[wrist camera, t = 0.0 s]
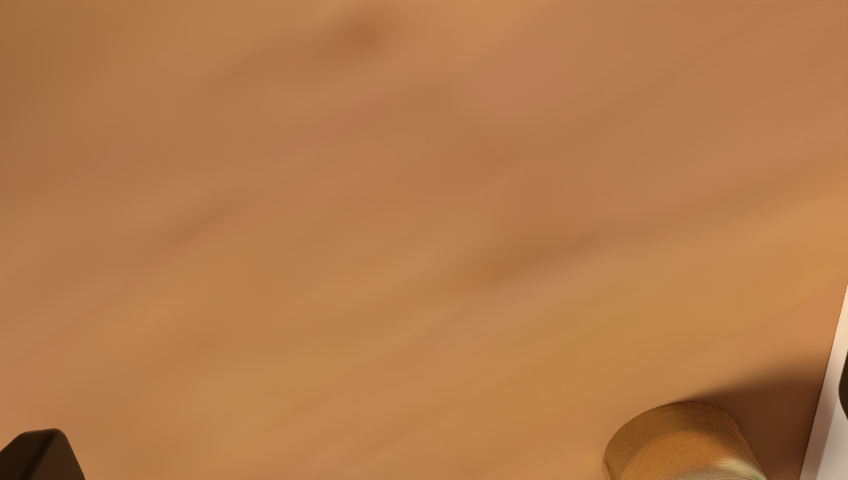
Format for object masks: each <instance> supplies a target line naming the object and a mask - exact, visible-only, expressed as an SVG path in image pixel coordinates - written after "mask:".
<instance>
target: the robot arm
mask: <svg viewBox="0 0 848 480" xmlns="http://www.w3.org/2000/svg"><path fill="white" fill-rule="evenodd" d="M838 394H839V400H840V404H841V406H842V409H843V411H844V413H845V416H846V418H847V420H848V351H847V355H846V359H845V362H844V366H843V370H842V374H841V378H840V381H839V387H838ZM0 480H85V477H84V474H83V472H82V470H81V468H80V465H79V463H78V461H77V459H76V457H75V454H74V452H73V450H72V448H71V446H70V443H69V441H68V439H67V437H66V435H65V434H64V433H63V432H62V431H61V430H59V429H55V428H52V429H44V430H36V431H28V432H24V433H22V434H20V435H18V436H17V437H16V438H15V439H13V440H12V441H11V442H10V443H9V444H8V445H7V446H6V447H5V448H4V449H3V450H1V451H0Z"/></svg>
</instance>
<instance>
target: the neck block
mask: <svg viewBox="0 0 848 480" xmlns="http://www.w3.org/2000/svg"><path fill="white" fill-rule="evenodd" d="M847 351H848V286H847V290H846V294H845V298H844V302H843V306H842V310H841V314H840V318H839V322H838V326H837V330H836V334H835V339H834V343H833V347H832V351H831V355H830V359H829V363H828V367H827V371H826V375H825V379H824V383H823V387H822V391H821V395H820V399H819V403H818V407H817V411H816V415H815V419H814V423H813V427H812V431H811V435H810V439H809V443H808V447H807V451H806V455H805V459H804V463H803V467H802V471H801V475H800V479H799V480H848V420H847V418H846V416H845V413H844V411H843V409H842V406H841V404H840V400H839V394H838V387H839V381H840V378H841V374H842V370H843V366H844V362H845V359H846V355H847Z"/></svg>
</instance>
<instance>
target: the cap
mask: <svg viewBox="0 0 848 480" xmlns="http://www.w3.org/2000/svg"><path fill="white" fill-rule="evenodd" d="M603 472H604V475H605V478H606V480H767V478H766V477H765V475H764V473H763V471H762V469H761V468H760V466H759V464H758V462H757V460H756V459H755V457H754V455H753V453H752V451H751V450H750V448H749V446H748V444H747V442H746V441H745V439H744V437H743V435H742V433H741V432H740V430H739V428H738V426H737V425H736V423H735V421H734V420H733V419H732V417H731V416H730V415H729V414H727V413H726V412H725V411H723V410H721V409H720V408H717V407H715V406H712V405H709V404H705V403H698V402H678V403H672V404H667V405H663V406H659V407H656V408H653V409H651V410H648V411H646V412H644V413H642V414H640V415H638V416H637V417H635V418H633V419H632V420H630V421H629V422H628V423H626V424H625V425H624V426H623V427H622V428H620V429H619V430H618V432H617V433H616V434H615V435H614V436H613V438H612V439H611V440H610V442H609V444H608V446H607V448H606V451H605V454H604V459H603Z"/></svg>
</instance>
